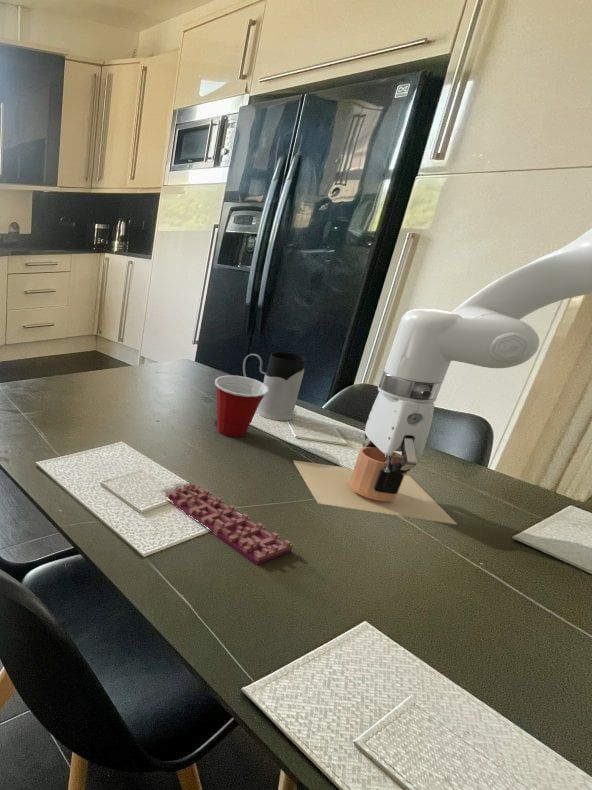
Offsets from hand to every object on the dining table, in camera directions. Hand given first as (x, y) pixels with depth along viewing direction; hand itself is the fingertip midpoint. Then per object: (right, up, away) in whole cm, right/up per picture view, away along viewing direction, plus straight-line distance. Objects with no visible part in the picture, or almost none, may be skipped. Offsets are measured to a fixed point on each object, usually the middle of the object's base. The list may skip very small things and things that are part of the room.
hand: (375, 480), depth 86 cm
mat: (0, -3, +1) cm, 3 cm away
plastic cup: (-13, +7, +25) cm, 29 cm away
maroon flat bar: (-31, -6, -7) cm, 32 cm away
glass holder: (+1, +11, +38) cm, 39 cm away
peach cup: (0, -2, +1) cm, 2 cm away
